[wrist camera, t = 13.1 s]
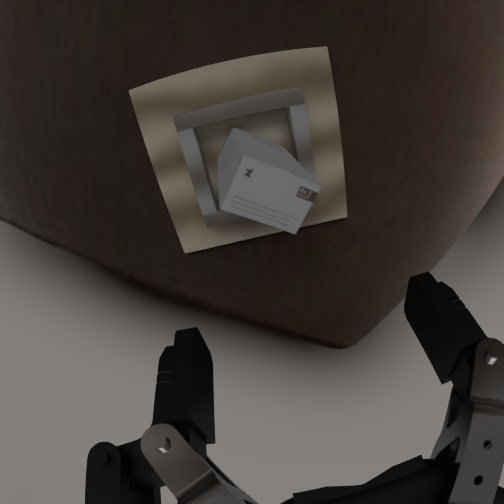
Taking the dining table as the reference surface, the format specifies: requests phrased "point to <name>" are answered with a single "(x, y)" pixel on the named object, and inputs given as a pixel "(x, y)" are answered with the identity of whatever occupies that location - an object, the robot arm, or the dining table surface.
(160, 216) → the dining table surface
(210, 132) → the square frame tray
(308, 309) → the dining table surface
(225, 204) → the skincare box
